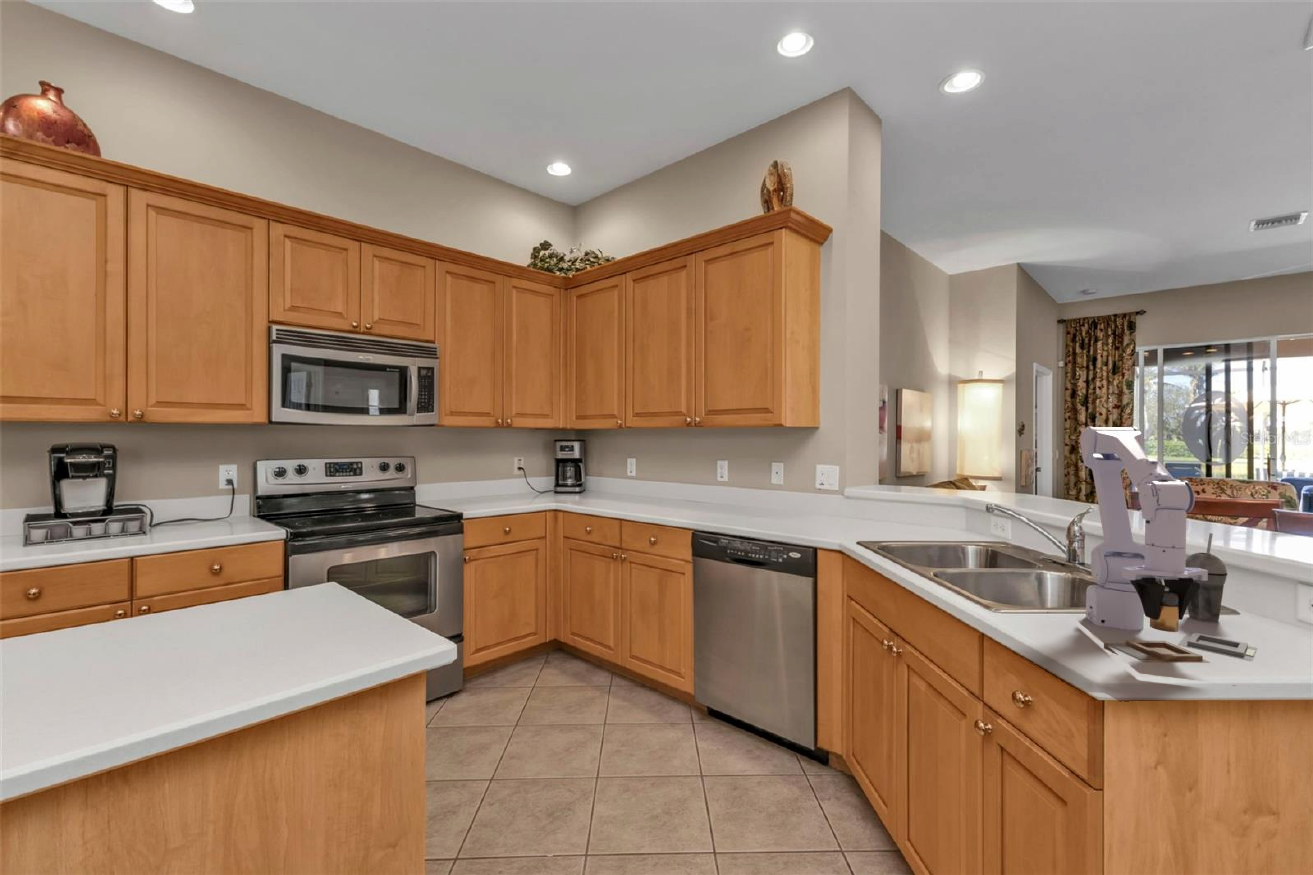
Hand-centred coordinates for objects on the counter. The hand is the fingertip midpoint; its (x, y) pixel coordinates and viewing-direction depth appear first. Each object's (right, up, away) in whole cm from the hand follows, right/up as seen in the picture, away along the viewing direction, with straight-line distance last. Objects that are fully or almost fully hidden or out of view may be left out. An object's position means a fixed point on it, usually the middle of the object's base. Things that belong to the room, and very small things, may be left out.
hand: (1163, 618), depth 107 cm
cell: (0, -2, 0) cm, 2 cm away
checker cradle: (+13, -8, +3) cm, 16 cm away
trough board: (-2, -7, 0) cm, 8 cm away
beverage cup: (+27, -8, +20) cm, 34 cm away
